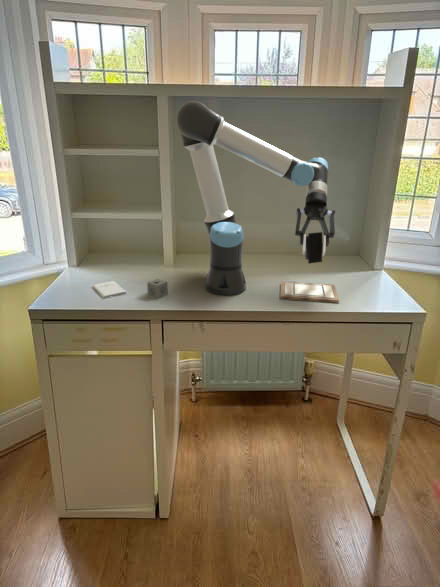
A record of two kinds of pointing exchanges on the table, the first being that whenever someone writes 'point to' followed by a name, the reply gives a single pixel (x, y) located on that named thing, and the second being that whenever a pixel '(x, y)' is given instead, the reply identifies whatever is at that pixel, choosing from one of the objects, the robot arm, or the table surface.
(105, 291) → the external hard drive
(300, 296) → the picture frame
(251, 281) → the table surface
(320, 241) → the speaker
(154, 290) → the dice cube
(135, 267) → the table surface
